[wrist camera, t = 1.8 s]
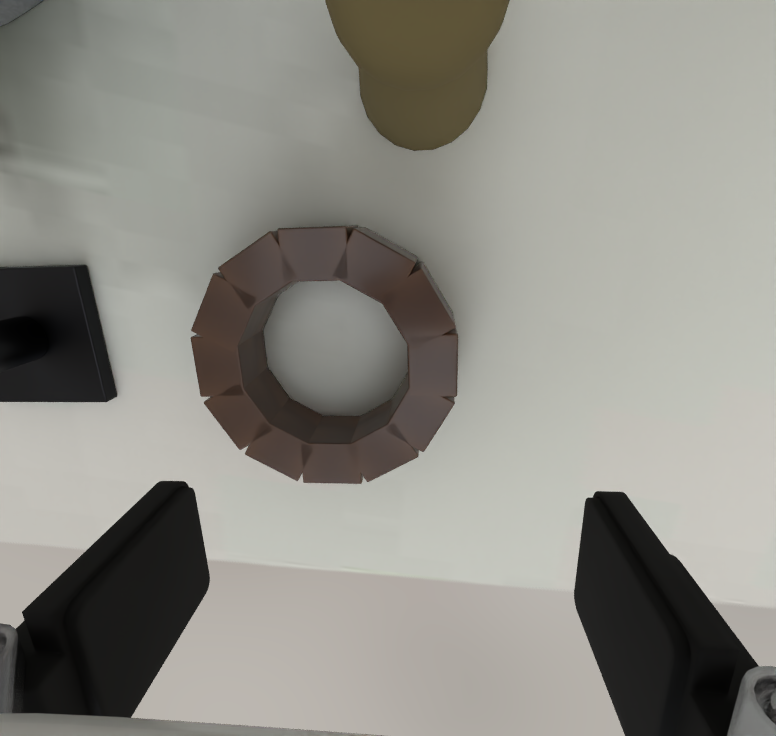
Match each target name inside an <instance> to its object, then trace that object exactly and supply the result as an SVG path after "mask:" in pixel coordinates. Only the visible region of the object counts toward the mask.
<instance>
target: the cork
mask: <svg viewBox="0 0 776 736" xmlns="http://www.w3.org/2000/svg"><path fill="white" fill-rule="evenodd" d="M325 1H326V5H327V8H328V11H329V14H330V17H331V20H332V23H333V26H334V29H335V32H336V34H337V36H338V38H339V40H340V42H341V43H342V45H343V46H344V47H345V49H346V50H347V52H348V53H349V55H350V56H351V57H352V59H353V60H354V62H355V63H356V65H357V66H358V67H359V80H360V95H361V99H362V102H363V105H364V108H365V110H366V113H367V116H368V118H369V119H370V121H371V122H372V124H373V125H374V126H375V128H376V129H377V131H378V132H379V133H380V134H381V135H382V136H384V137H385V138H387V139H388V140H389V141H391V142H392V143H393V144H395V145H397V146H400V147H404V148H407V149H410V150H413V151H416V150H433V149H436V148H438V147H441V146H443V145H446V144H448V143H451V142H452V141H454V140H455V139H456V138H457V137H458V136H459V135H461V134H462V133H463V132H464V131H465V130H467V129H468V127H469V126H470V124H471V123H472V121H473V120H474V118H475V117H476V115H477V114H478V112H479V111H480V108H481V105H482V102H483V99H484V95H485V92H486V89H487V49H488V47H489V46H490V44H491V43H492V41H493V39H494V38H495V36H496V35H497V33H498V31H499V30H500V27H501V25H502V23H503V20H504V17H505V13H506V10H507V7H508V4H509V0H325Z"/></svg>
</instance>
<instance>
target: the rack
mask: <svg viewBox="0 0 776 736" xmlns="http://www.w3.org/2000/svg"><path fill="white" fill-rule="evenodd" d="M116 396H117V394H116V390H115V385H114V381H113V377H112V373H111V368H110V364H109V360H108V355H107V351H106V347H105V343H104V338H103V334H102V330H101V325H100V321H99V317H98V313H97V308H96V304H95V300H94V295H93V291H92V287H91V283H90V278H89V274H88V270H87V266H86V265H60V266H25V267H0V402H108V401H109V400H111V399H113V398H115V397H116Z"/></svg>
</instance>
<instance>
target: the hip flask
mask: <svg viewBox="0 0 776 736" xmlns="http://www.w3.org/2000/svg"><path fill="white" fill-rule="evenodd" d="M41 1H43V0H0V26H2V25H5V24H7V23H9V22H11V21H12V20H14V19H15V18H17V17H19V16H20V15H22V14H24V13H25V12H27V11H28V10H30V9H31V8H33V7H34V6H36V5H37V4H38V3H40V2H41Z"/></svg>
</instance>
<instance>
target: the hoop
mask: <svg viewBox="0 0 776 736" xmlns="http://www.w3.org/2000/svg"><path fill="white" fill-rule="evenodd" d="M417 258H418V257H417V256H416V255H414V254H412V253H410V252H408V251H407V250H405V249H403V248H401V247H400V246H398V245H396V244H394V243H392V242H391V241H389V240H387V239H385V238H383V237H382V236H380V235H378V234H376V233H374V232H373V231H371V230H369V229H367V228H359V227H358V226H357V225H356V226H327V227H299V228H279V229H278V230H277V231H270V232H268V233H267V234H265V235H264V236H262V237H261V238H260V239H258V240H257V241H255V242H254V243H252V244H251V245H250V246H248V247H247V248H245V249H244V250H242V251H241V252H240V253H238V254H237V255H235V256H234V257H233V258H231V259H230V260H228V261H227V262H225V263H224V264H223V265H221V266H220V267H219V268H218V269H219V271H220V272H218V273H214V274H213V276H212V278H211V281H210V283H209V286H208V288H207V291H206V294H205V296H204V299H203V301H202V304H201V306H200V309H199V311H198V314H197V317H196V319H195V322H194V324H193V327H192V329H191V331H193V332H195V333H196V334H197V335H195V336H192V337H191V342H192V348H193V354H194V360H195V366H196V372H197V377H198V383H199V389H200V395H201V396H202V397H210V398H208V399H207V400H206V401H205V402H204V404H205V405H206V407H207V408H208V409H209V410H210V412H211V413H212V414H213V416H214V417H215V418H216V420H217V421H218V422H219V424H220V425H221V426H222V427H223V429H224V430H225V431H226V433H227V434H228V435H229V437H230V438H231V439H232V441H233V442H234V443H235V444H236V446H237V447H238V448H239V450H241V449H243V448H245V447H246V446H248V445H249V446H248V448H247V450H246V452H245V455H247V456H249V457H251V458H253V459H255V460H257V461H259V462H261V463H263V464H265V465H267V466H269V467H271V468H273V469H275V470H277V471H279V472H281V473H283V474H284V475H286V476H288V477H290V478H292V479H294V480H296V481H298V480H299V478H300V476H301V474H302V472H303V482H304V483H348V484H361V483H362V480H363V476H364V478H365V479H366V481H367V482H369V481H371V480H373V479H375V478H377V477H379V476H381V475H383V474H385V473H387V472H389V471H391V470H393V469H395V468H397V467H399V466H401V465H403V464H405V463H407V462H409V461H411V460H413V459H415V458H417V457H418V455H419V450H420V451H422V452H424V451H425V449H426V448H427V446H428V445H429V443H430V441H431V440H432V438H433V437H434V435H435V434H436V432H437V431H438V429H439V427H440V426H441V424H442V423H443V421H444V420H445V418H446V417H447V415H448V413H449V412H450V410H451V409H452V407H453V406H454V404H455V402H454V397H456V396H457V371H458V333H457V329H456V325H455V321H454V317H453V313H452V311H451V309H450V307H449V305H448V304H447V302H446V300H445V299H444V297H443V295H442V294H441V292H440V290H439V288H438V287H437V285H436V283H435V282H434V280H433V278H432V276H431V275H430V273H429V271H428V270H427V268H426V266H425V264H424V263H423V262H421V263H419V264H418V265H416V266H415V264H416V261H417ZM337 280H340V281H342V282H344V283H346V284H347V285H349V286H351V287H353V288H355V289H356V290H358V291H360V292H362V293H364V294H366V295H367V296H369V297H371V298H373V299H375V300H377V301H378V302H380V303H382V304H383V305H384V307H385V309H386V310H387V312H388V314H389V315H390V317H391V318H392V320H393V322H394V323H395V325H396V326H397V328H398V330H399V331H400V333H401V334H402V336H403V338H404V339H405V341H406V343H407V350H408V373H407V374H406V376H405V378H404V380H403V381H402V383H401V385H400V386H399V388H398V390H397V392H396V393H395V395H394V397H393V398H392V399H391V400H389V401H387V402H385V403H383V404H382V405H380V406H378V407H376V408H374V409H372V410H371V411H369V412H367V413H365V414H363V415H361V416H323V415H321V414H319V413H317V412H315V411H313V410H311V409H309V408H307V407H305V406H303V405H302V404H300V403H298V402H296V401H294V400H292V399H290V398H289V397H288V395H287V394H286V393H285V391H284V390H283V388H282V387H281V386H280V384H279V383H278V381H277V380H276V379H275V377H274V376H273V374H272V373H271V372H270V370H269V369H268V367H267V360H266V352H265V343H264V335H263V328H264V326H265V324H266V322H267V319H268V317H269V315H270V313H271V311H272V308H273V306H274V304H275V302H276V299H277V297H278V295H279V294H281V293H282V292H284V291H285V290H287V289H288V288H290V287H291V286H293V285H294V284H296V283H297V282H299V281H337Z"/></svg>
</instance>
